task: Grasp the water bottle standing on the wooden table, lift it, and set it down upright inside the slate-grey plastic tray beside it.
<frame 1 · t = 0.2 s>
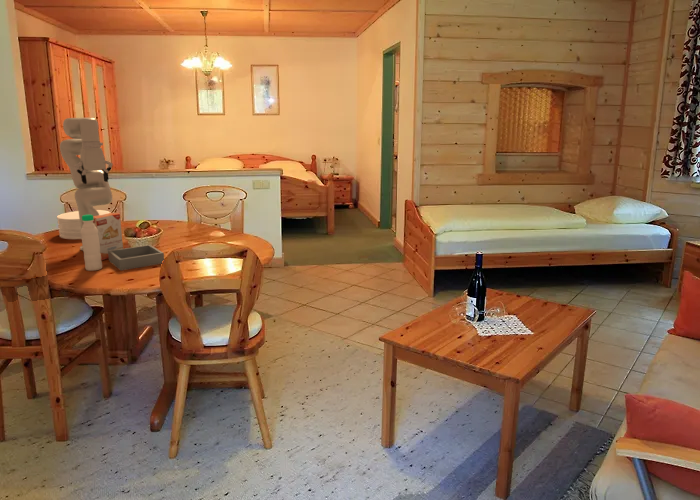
hand: (95, 182, 268), 37 cm above the table, tool pointing down, fingers open, 9 cm apart
plate stack: (86, 234, 331), on the table
tray: (136, 262, 271), on the table
water bottle: (94, 269, 260), on the table
cracker box: (109, 257, 281), on the table
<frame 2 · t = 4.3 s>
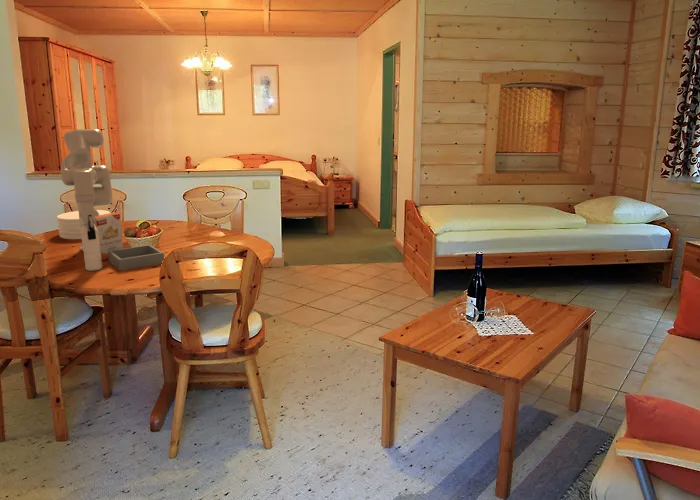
hand: (90, 237, 257), 15 cm above the table, tool pointing down, fingers closed on water bottle, 7 cm apart
water bottle: (94, 269, 260), on the table, touching gripper
everything else where it was.
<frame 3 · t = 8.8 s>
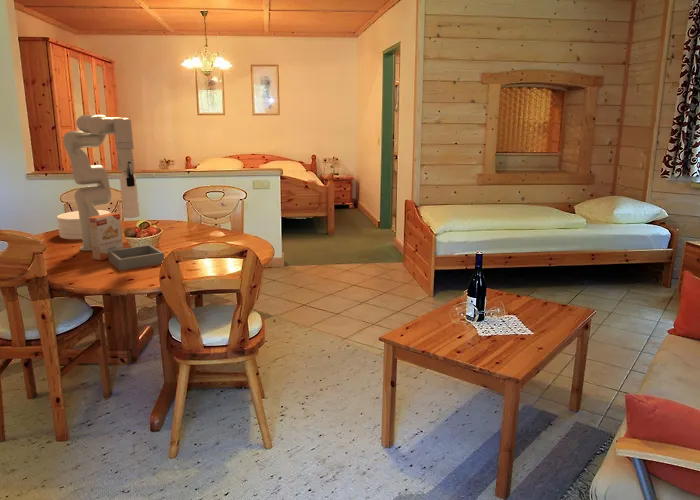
hand: (128, 185, 262), 37 cm above the table, tool pointing down, fingers closed on water bottle, 7 cm apart
water bottle: (131, 217, 266), point 22 cm above the table, touching gripper
everything else where it was.
when the fingers open (16 cm above the table, at t = 13.4 s): water bottle stays where it is, resting on tray.
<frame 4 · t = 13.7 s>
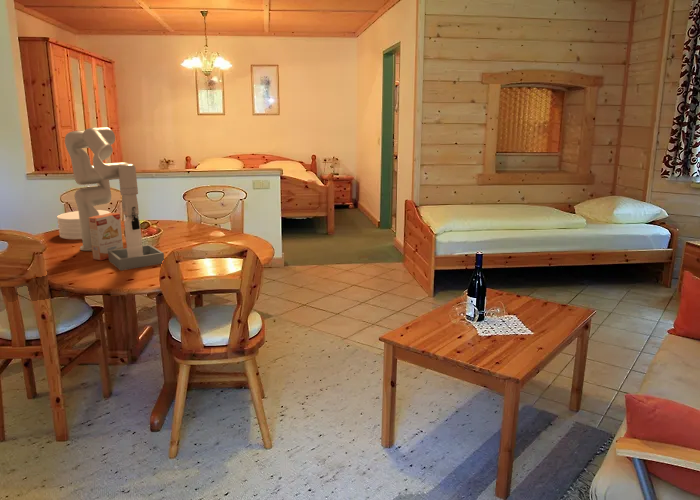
hand: (132, 227, 267), 17 cm above the table, tool pointing down, fingers open, 9 cm apart
water bottle: (136, 260, 271), point 1 cm above the table, touching tray
everything else where it was.
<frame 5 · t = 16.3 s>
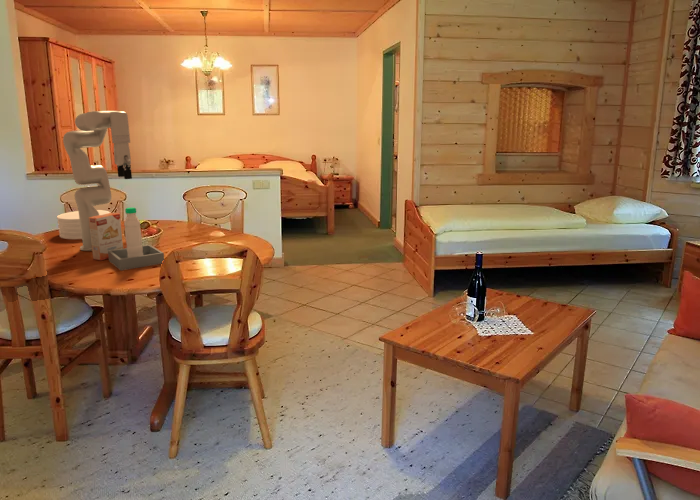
hand: (125, 177, 261), 40 cm above the table, tool pointing down, fingers open, 9 cm apart
nothing on the table moved.
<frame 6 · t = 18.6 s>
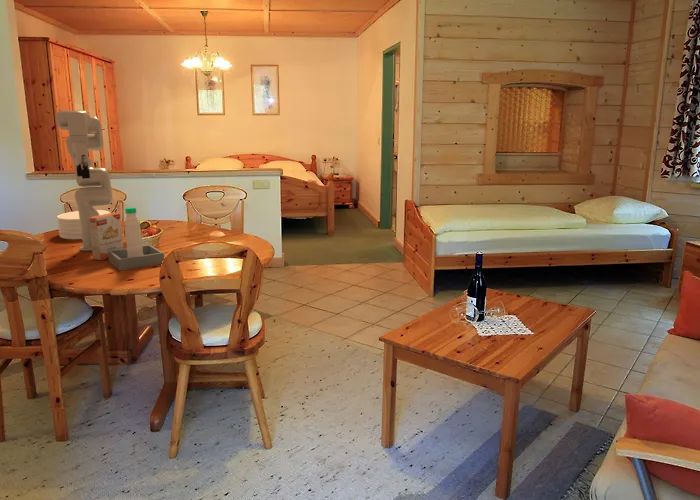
hand: (83, 177, 262), 40 cm above the table, tool pointing down, fingers open, 9 cm apart
nothing on the table moved.
at the end: water bottle inside the target area on the tray (0.3 cm from its centre), point 0.8 cm above the tray's base; water bottle tilted 0°; the gripper is holding nothing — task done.
